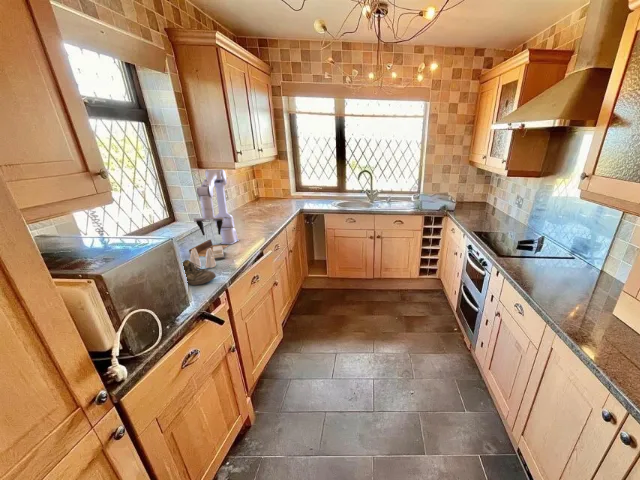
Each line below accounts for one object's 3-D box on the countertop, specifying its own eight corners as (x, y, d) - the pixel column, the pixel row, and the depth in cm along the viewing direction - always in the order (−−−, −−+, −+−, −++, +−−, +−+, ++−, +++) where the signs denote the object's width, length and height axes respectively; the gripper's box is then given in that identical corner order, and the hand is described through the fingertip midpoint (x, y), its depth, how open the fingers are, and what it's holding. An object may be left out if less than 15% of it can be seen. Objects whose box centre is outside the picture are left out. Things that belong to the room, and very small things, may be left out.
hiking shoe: (207, 282, 136) (206, 256, 137) (163, 287, 137) (162, 260, 138) (220, 284, 145) (219, 259, 146) (178, 288, 147) (177, 263, 148)
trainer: (214, 254, 177) (212, 246, 175) (224, 252, 179) (222, 245, 177) (214, 260, 168) (212, 252, 166) (224, 258, 170) (222, 250, 168)
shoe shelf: (210, 245, 193) (209, 239, 191) (229, 245, 192) (227, 239, 190) (190, 256, 175) (188, 249, 173) (210, 256, 174) (209, 250, 172)
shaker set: (191, 272, 153) (184, 251, 148) (190, 269, 156) (183, 249, 151) (217, 267, 159) (212, 246, 154) (216, 264, 162) (210, 244, 157)
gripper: (190, 209, 160) (195, 235, 163) (221, 208, 165) (225, 234, 168) (193, 210, 166) (197, 235, 169) (223, 209, 171) (227, 234, 174)
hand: (211, 235), depth 169 cm, fingers open, 7 cm apart
